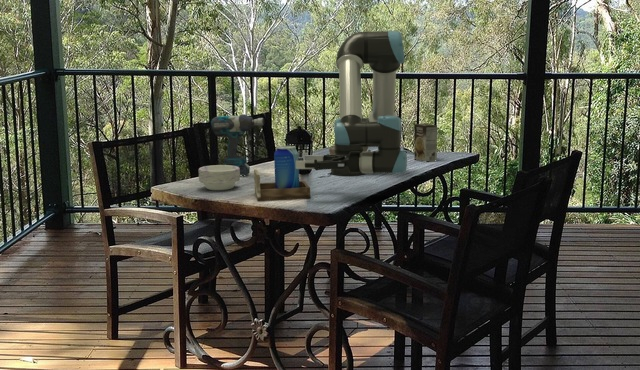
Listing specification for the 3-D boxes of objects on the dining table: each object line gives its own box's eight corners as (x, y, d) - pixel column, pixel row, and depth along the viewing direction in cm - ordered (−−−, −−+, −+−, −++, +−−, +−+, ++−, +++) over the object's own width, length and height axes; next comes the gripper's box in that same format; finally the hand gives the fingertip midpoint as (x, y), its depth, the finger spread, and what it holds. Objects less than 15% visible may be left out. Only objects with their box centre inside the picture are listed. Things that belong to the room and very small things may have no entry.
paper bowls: (247, 188, 291) (246, 167, 290) (209, 193, 283) (208, 172, 282) (229, 183, 304) (228, 163, 302) (193, 188, 296) (191, 167, 294)
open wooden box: (304, 191, 283) (304, 166, 282) (310, 198, 269) (309, 172, 268) (254, 193, 281) (253, 168, 279) (257, 201, 267) (256, 174, 265)
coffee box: (413, 160, 352) (413, 124, 349) (425, 158, 355) (425, 123, 352) (425, 162, 344) (425, 125, 341) (437, 161, 347) (437, 124, 344)
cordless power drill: (264, 177, 316) (261, 115, 312) (211, 176, 320) (207, 115, 316) (269, 174, 324) (267, 113, 319) (217, 173, 328) (214, 113, 324)
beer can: (304, 191, 276) (302, 146, 273) (291, 195, 269) (289, 149, 266) (283, 189, 280) (282, 145, 277) (270, 193, 273) (269, 148, 270)
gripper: (366, 146, 279) (308, 146, 284) (354, 156, 255) (291, 156, 260) (366, 167, 281) (308, 167, 285) (355, 179, 257) (292, 178, 261)
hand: (300, 161), depth 272 cm, fingers open, 13 cm apart
